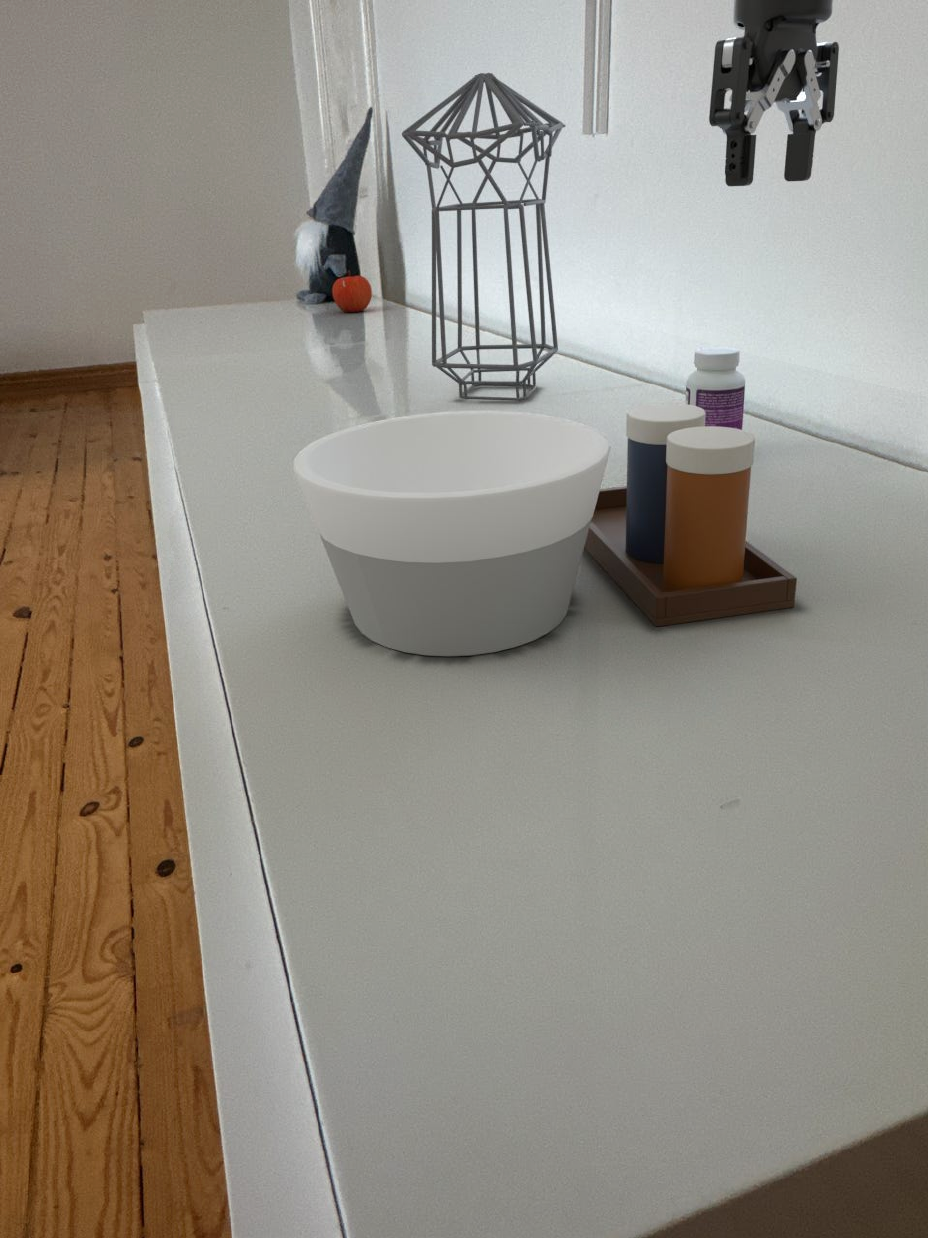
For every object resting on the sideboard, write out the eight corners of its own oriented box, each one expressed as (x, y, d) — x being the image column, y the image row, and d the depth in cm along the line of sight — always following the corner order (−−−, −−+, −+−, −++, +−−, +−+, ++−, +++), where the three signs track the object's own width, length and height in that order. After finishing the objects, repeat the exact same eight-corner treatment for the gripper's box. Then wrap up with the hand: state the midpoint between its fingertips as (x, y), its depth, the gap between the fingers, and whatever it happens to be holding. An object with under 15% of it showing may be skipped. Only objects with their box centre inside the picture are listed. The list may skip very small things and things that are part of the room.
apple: (363, 314, 192) (359, 271, 189) (327, 314, 195) (322, 272, 192) (380, 308, 199) (376, 267, 196) (345, 308, 202) (341, 268, 198)
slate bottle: (680, 533, 72) (686, 399, 68) (710, 558, 67) (718, 416, 63) (613, 542, 71) (615, 407, 67) (639, 568, 66) (643, 424, 62)
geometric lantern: (542, 410, 111) (534, 61, 96) (415, 407, 116) (389, 75, 101) (572, 381, 124) (570, 71, 110) (457, 380, 129) (440, 82, 114)
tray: (664, 504, 79) (664, 481, 79) (794, 607, 61) (797, 577, 60) (556, 517, 78) (556, 494, 77) (656, 627, 59) (657, 597, 58)
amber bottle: (721, 568, 66) (731, 422, 61) (757, 597, 61) (770, 442, 57) (649, 577, 65) (653, 430, 60) (680, 608, 60) (687, 452, 56)
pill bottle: (753, 453, 91) (760, 348, 87) (713, 464, 89) (720, 357, 85) (709, 442, 95) (715, 342, 91) (671, 453, 93) (675, 350, 89)
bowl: (661, 642, 57) (668, 466, 53) (341, 704, 53) (318, 517, 48) (545, 538, 74) (543, 397, 69) (295, 578, 69) (274, 430, 65)
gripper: (776, -65, 68) (758, 187, 75) (880, -49, 76) (854, 178, 83) (689, -46, 73) (679, 189, 80) (795, -32, 81) (778, 180, 88)
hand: (768, 183), depth 81 cm, fingers open, 8 cm apart
